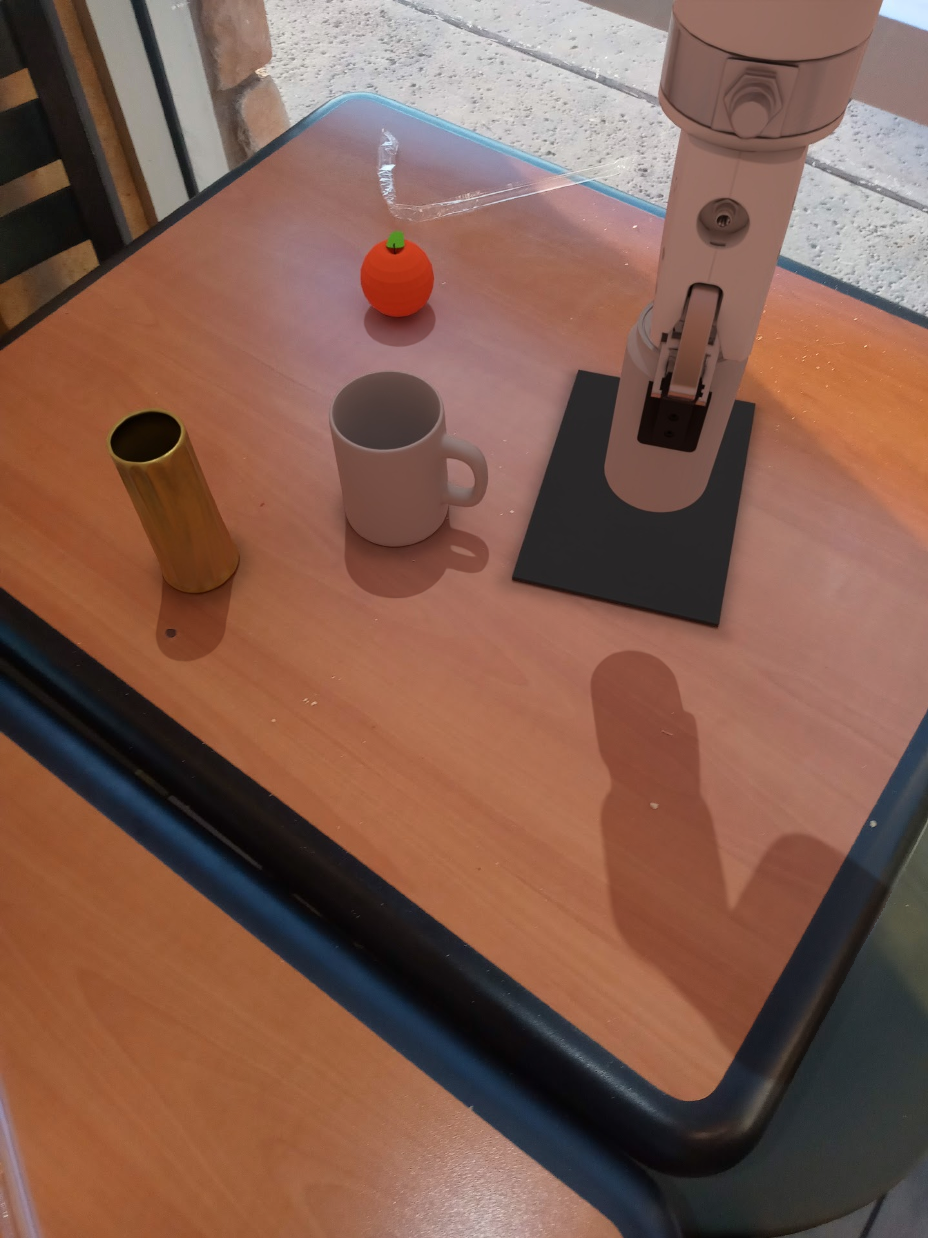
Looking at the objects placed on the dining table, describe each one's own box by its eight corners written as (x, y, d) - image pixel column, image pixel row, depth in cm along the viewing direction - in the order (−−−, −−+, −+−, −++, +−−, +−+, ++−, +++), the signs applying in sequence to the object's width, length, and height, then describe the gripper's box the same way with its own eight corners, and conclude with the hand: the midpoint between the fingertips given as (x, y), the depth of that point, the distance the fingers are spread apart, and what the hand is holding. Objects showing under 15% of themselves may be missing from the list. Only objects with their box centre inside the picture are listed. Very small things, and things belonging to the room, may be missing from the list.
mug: (329, 533, 73) (308, 437, 64) (368, 457, 78) (353, 357, 68) (470, 570, 71) (469, 477, 62) (502, 491, 76) (506, 392, 66)
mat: (717, 627, 68) (719, 624, 68) (511, 579, 71) (511, 576, 70) (754, 406, 81) (755, 403, 80) (578, 372, 83) (578, 369, 83)
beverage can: (581, 478, 57) (604, 324, 47) (649, 427, 59) (685, 269, 49) (659, 537, 55) (701, 388, 44) (726, 481, 57) (781, 327, 47)
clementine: (368, 277, 91) (361, 212, 85) (438, 279, 90) (435, 213, 84) (360, 331, 86) (352, 267, 80) (433, 333, 86) (430, 268, 80)
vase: (150, 589, 71) (84, 464, 59) (176, 527, 74) (118, 397, 62) (226, 599, 70) (174, 475, 58) (248, 536, 73) (204, 406, 61)
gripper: (847, 204, 31) (724, 529, 46) (864, -25, 40) (757, 311, 55) (628, 172, 32) (579, 500, 47) (693, -43, 41) (634, 291, 56)
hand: (675, 396), depth 51 cm, fingers closed on beverage can, 6 cm apart
